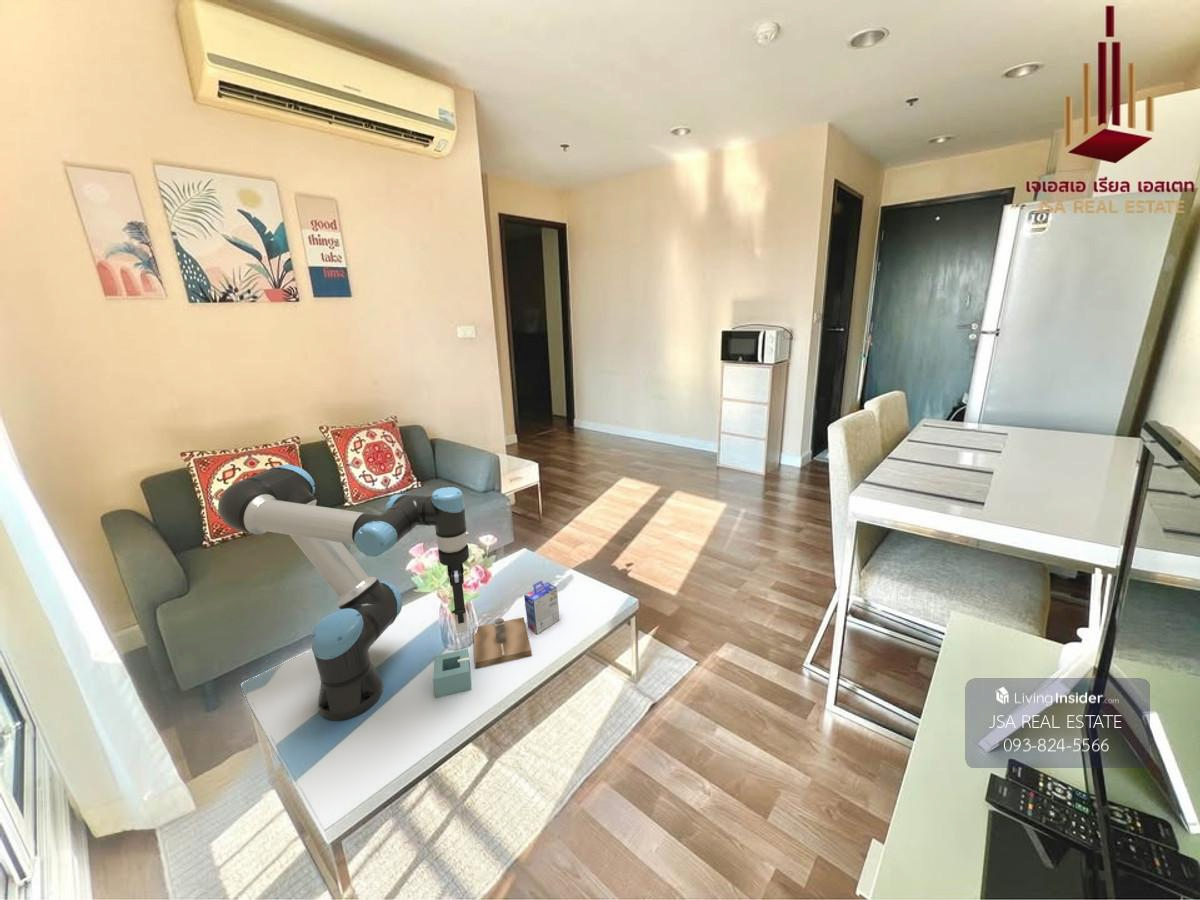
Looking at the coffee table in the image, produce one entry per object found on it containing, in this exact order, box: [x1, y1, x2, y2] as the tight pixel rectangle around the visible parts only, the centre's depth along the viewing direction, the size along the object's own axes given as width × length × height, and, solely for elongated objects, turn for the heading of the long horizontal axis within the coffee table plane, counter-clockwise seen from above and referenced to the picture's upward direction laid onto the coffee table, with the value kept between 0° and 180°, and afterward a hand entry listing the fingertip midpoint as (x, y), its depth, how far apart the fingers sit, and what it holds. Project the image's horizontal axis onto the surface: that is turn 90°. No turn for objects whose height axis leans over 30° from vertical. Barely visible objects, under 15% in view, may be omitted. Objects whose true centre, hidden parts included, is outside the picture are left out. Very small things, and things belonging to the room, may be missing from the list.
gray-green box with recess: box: [432, 648, 472, 699], centre depth 127 cm, size 9×9×6 cm
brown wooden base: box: [473, 616, 533, 669], centre depth 140 cm, size 16×16×8 cm
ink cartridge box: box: [523, 580, 560, 635], centre depth 148 cm, size 10×6×14 cm, turn 137°
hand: (460, 615), depth 126 cm, fingers open, 13 cm apart
